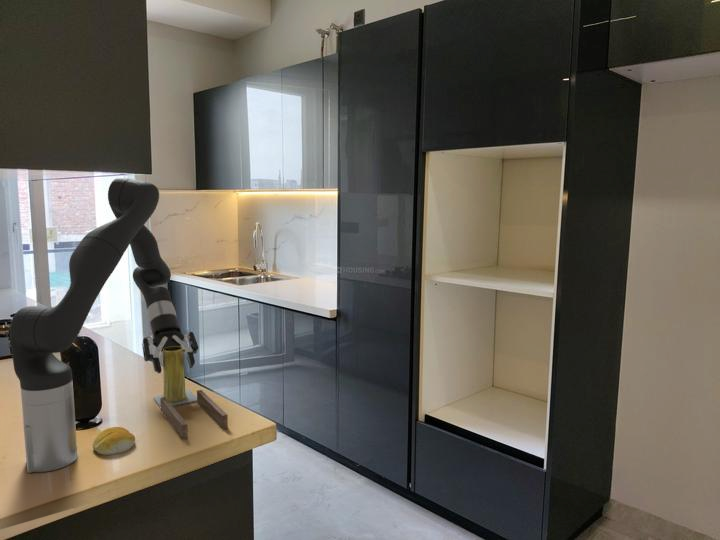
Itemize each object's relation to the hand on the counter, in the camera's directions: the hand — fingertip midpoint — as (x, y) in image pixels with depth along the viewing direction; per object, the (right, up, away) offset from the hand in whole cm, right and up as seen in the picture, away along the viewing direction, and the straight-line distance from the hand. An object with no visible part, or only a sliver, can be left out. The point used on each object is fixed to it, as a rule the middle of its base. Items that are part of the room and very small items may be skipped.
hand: (176, 369), depth 141 cm
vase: (-1, -9, +2) cm, 9 cm away
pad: (-1, -9, +2) cm, 9 cm away
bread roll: (-5, -13, -25) cm, 28 cm away
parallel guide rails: (+8, -11, -10) cm, 17 cm away
